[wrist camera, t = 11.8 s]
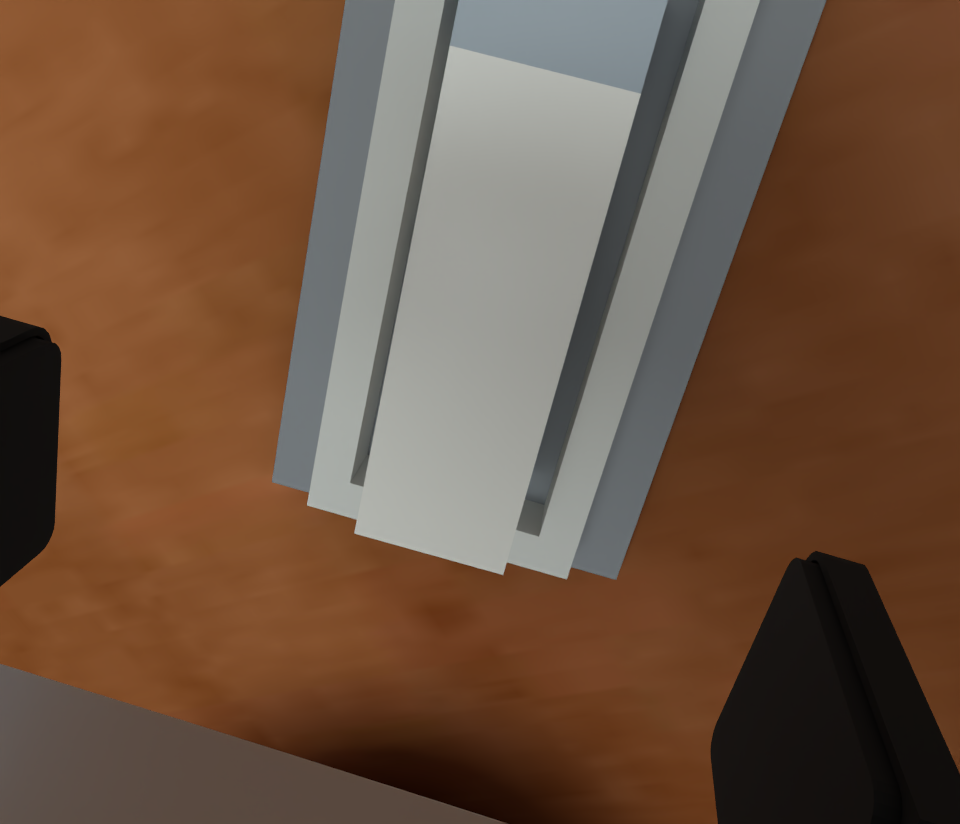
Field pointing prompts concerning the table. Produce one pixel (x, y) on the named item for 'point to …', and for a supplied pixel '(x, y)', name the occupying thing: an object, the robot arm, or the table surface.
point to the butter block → (500, 264)
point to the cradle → (612, 279)
